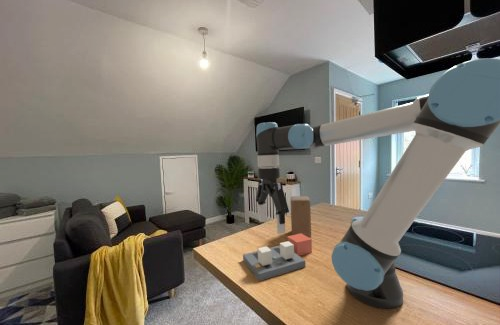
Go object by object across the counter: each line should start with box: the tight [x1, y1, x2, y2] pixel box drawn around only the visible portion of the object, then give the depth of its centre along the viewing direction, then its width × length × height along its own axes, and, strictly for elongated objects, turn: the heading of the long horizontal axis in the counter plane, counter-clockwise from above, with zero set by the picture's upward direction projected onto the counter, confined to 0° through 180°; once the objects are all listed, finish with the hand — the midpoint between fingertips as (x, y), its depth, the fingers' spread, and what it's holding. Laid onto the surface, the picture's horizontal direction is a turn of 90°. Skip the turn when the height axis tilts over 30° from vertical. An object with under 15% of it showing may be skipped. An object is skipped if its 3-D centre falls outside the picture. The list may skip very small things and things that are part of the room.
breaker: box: [279, 240, 294, 259], centre depth 83 cm, size 4×4×5 cm
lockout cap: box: [286, 233, 313, 257], centre depth 94 cm, size 8×8×6 cm
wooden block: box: [290, 195, 312, 238], centre depth 112 cm, size 10×10×20 cm
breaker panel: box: [242, 245, 306, 282], centre depth 84 cm, size 16×20×3 cm
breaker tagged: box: [257, 245, 272, 266], centre depth 80 cm, size 4×4×5 cm
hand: (271, 226), depth 74 cm, fingers open, 13 cm apart
